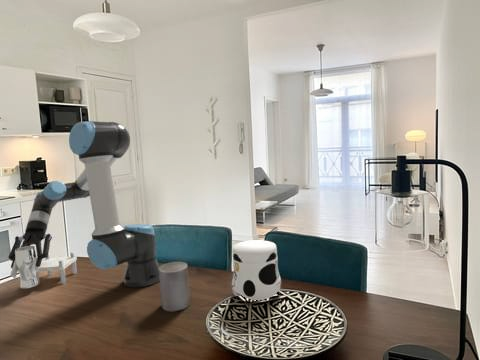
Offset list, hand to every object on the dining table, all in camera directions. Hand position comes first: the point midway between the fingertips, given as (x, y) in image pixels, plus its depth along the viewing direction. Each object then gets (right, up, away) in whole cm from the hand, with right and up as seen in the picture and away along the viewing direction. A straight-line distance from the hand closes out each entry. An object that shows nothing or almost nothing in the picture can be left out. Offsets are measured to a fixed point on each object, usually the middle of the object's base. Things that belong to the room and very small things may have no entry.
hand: (23, 275), depth 134 cm
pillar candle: (+61, -7, -14) cm, 63 cm away
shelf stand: (+4, -6, +17) cm, 19 cm away
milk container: (+89, -5, -10) cm, 89 cm away
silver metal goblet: (0, -5, +4) cm, 7 cm away
